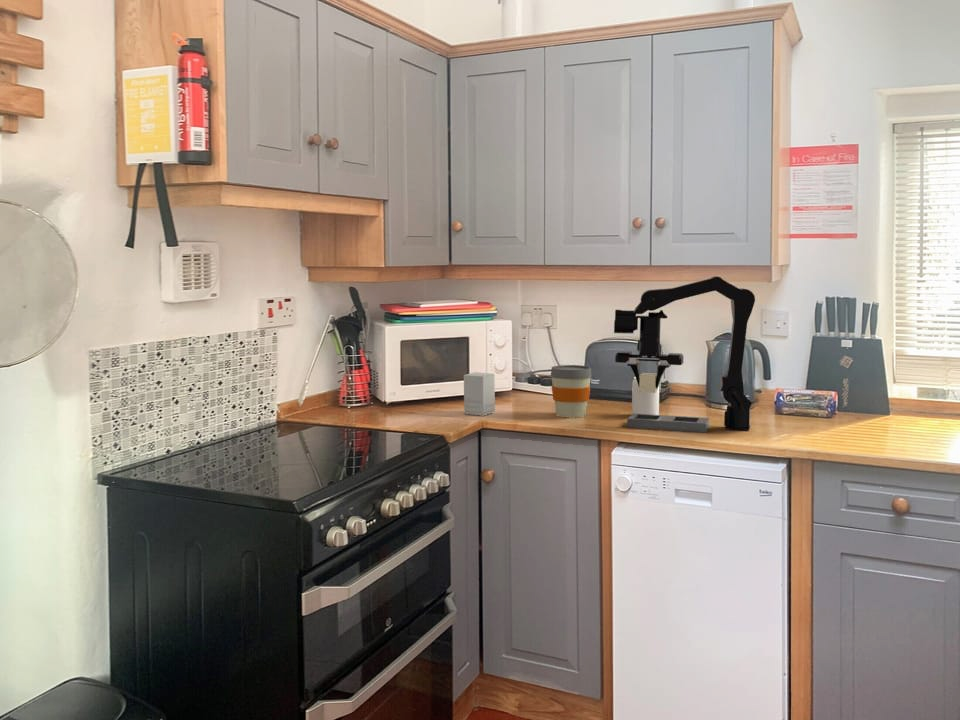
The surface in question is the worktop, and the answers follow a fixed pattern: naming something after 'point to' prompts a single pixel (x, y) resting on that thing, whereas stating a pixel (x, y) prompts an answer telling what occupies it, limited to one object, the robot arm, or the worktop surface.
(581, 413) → the reusable coffee cup
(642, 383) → the block
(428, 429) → the worktop surface
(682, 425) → the grey compartment tray
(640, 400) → the beverage can
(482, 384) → the supplement box
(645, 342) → the robot arm
